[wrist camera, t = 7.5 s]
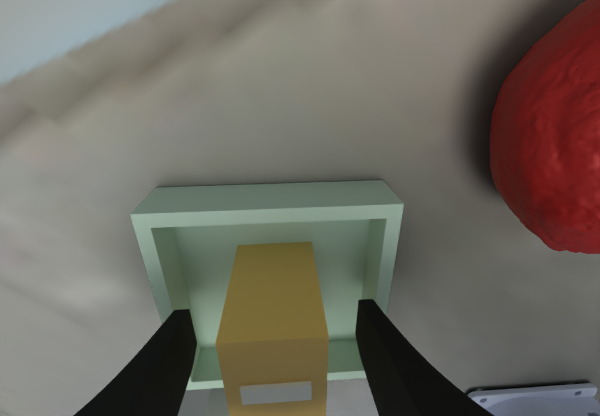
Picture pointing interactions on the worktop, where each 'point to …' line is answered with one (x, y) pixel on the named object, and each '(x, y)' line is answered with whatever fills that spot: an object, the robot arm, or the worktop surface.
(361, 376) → the tray
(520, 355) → the worktop surface
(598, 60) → the pomegranate
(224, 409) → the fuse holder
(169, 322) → the robot arm
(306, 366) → the block
